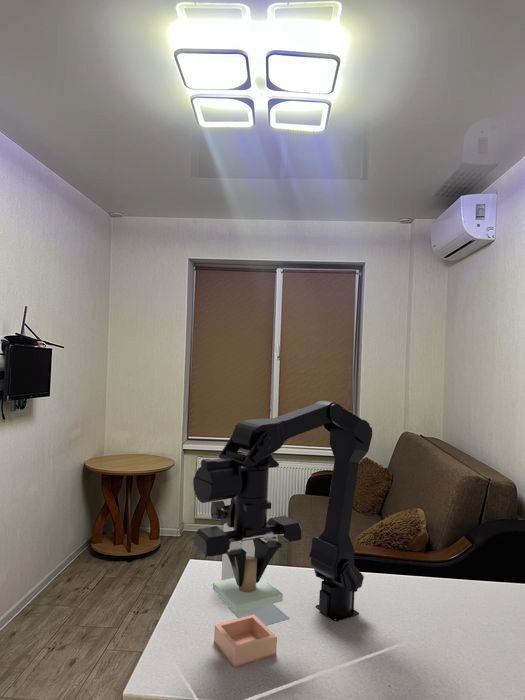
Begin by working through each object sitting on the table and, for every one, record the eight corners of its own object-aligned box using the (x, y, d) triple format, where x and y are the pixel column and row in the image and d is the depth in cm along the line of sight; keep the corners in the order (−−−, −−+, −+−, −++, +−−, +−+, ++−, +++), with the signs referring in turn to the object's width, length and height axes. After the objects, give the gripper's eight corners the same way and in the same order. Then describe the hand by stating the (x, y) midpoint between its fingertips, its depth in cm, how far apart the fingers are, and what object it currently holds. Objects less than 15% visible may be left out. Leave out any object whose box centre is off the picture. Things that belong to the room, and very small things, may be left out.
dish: (253, 633, 89) (254, 614, 90) (276, 657, 83) (277, 636, 83) (213, 644, 85) (214, 624, 86) (234, 670, 79) (235, 649, 79)
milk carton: (256, 577, 113) (260, 495, 113) (252, 591, 106) (256, 504, 106) (226, 574, 113) (230, 493, 114) (220, 588, 106) (224, 502, 107)
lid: (256, 579, 90) (258, 545, 91) (282, 601, 83) (284, 564, 83) (212, 589, 86) (214, 554, 86) (235, 613, 78) (237, 574, 78)
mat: (266, 600, 102) (266, 597, 102) (289, 621, 94) (290, 618, 94) (228, 609, 97) (228, 607, 97) (249, 632, 90) (249, 629, 90)
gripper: (272, 478, 96) (269, 557, 96) (184, 487, 87) (180, 575, 87) (305, 493, 87) (301, 580, 86) (209, 505, 77) (205, 603, 77)
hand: (247, 583), depth 84 cm, fingers closed on lid, 3 cm apart
